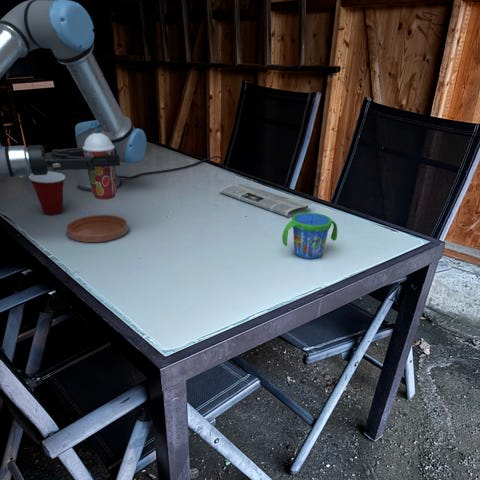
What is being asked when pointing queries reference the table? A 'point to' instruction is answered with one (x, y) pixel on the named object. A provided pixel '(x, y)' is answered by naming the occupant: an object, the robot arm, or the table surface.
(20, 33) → the robot arm
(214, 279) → the table surface
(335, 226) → the snack cup
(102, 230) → the plate
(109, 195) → the smoothie
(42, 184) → the plastic cup
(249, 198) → the newspaper
